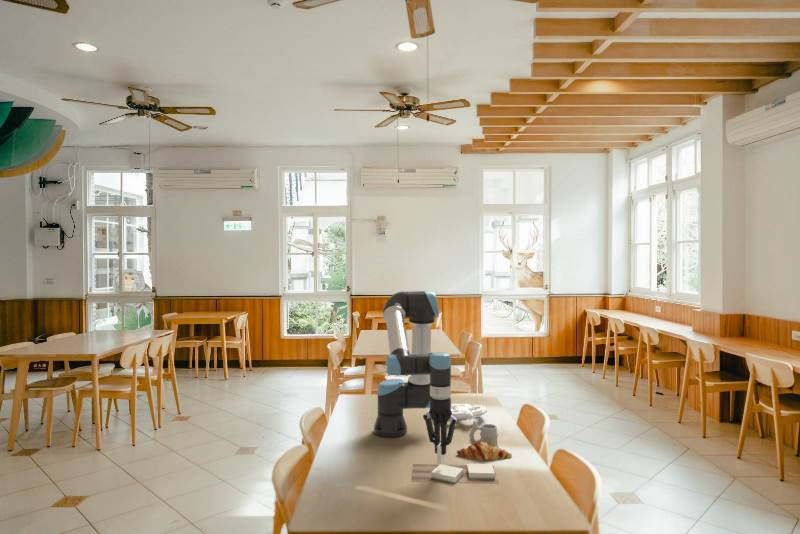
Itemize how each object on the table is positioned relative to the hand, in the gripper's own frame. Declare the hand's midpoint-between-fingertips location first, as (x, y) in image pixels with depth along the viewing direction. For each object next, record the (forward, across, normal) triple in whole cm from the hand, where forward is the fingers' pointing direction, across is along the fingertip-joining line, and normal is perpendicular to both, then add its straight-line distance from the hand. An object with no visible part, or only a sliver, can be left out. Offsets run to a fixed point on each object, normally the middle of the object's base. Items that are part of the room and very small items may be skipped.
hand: (440, 462), depth 176 cm
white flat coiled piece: (+6, -20, +67) cm, 70 cm away
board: (+5, +4, +3) cm, 7 cm away
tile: (+3, -2, 0) cm, 4 cm away
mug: (+6, +5, +32) cm, 33 cm away
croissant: (+6, +8, +24) cm, 26 cm away
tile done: (+4, +12, +7) cm, 15 cm away
